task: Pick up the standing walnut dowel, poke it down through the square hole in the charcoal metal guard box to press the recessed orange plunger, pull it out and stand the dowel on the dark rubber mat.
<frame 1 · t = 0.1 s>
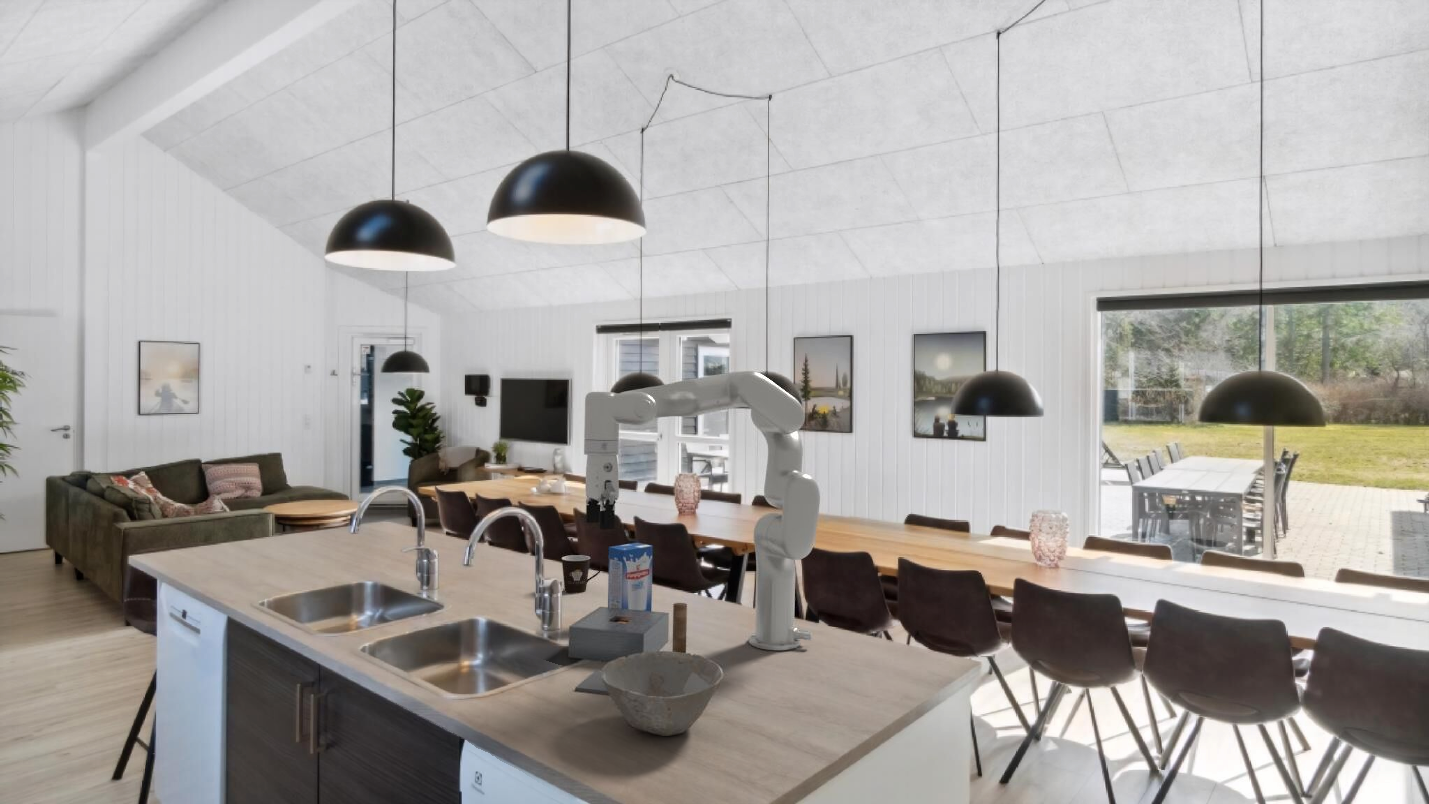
hand: (599, 525, 171), 31 cm above the counter, tool pointing down, fingers open, 9 cm apart
coffee mug: (580, 591, 238), on the counter
breaker button: (620, 634, 184), point 3 cm above the counter, slide at 0.0 cm
dowel: (678, 667, 172), on the counter
milk carton: (629, 622, 207), on the counter
ceramic bowl: (661, 727, 141), on the counter
mat: (607, 684, 161), on the counter
guard box: (620, 649, 184), on the counter
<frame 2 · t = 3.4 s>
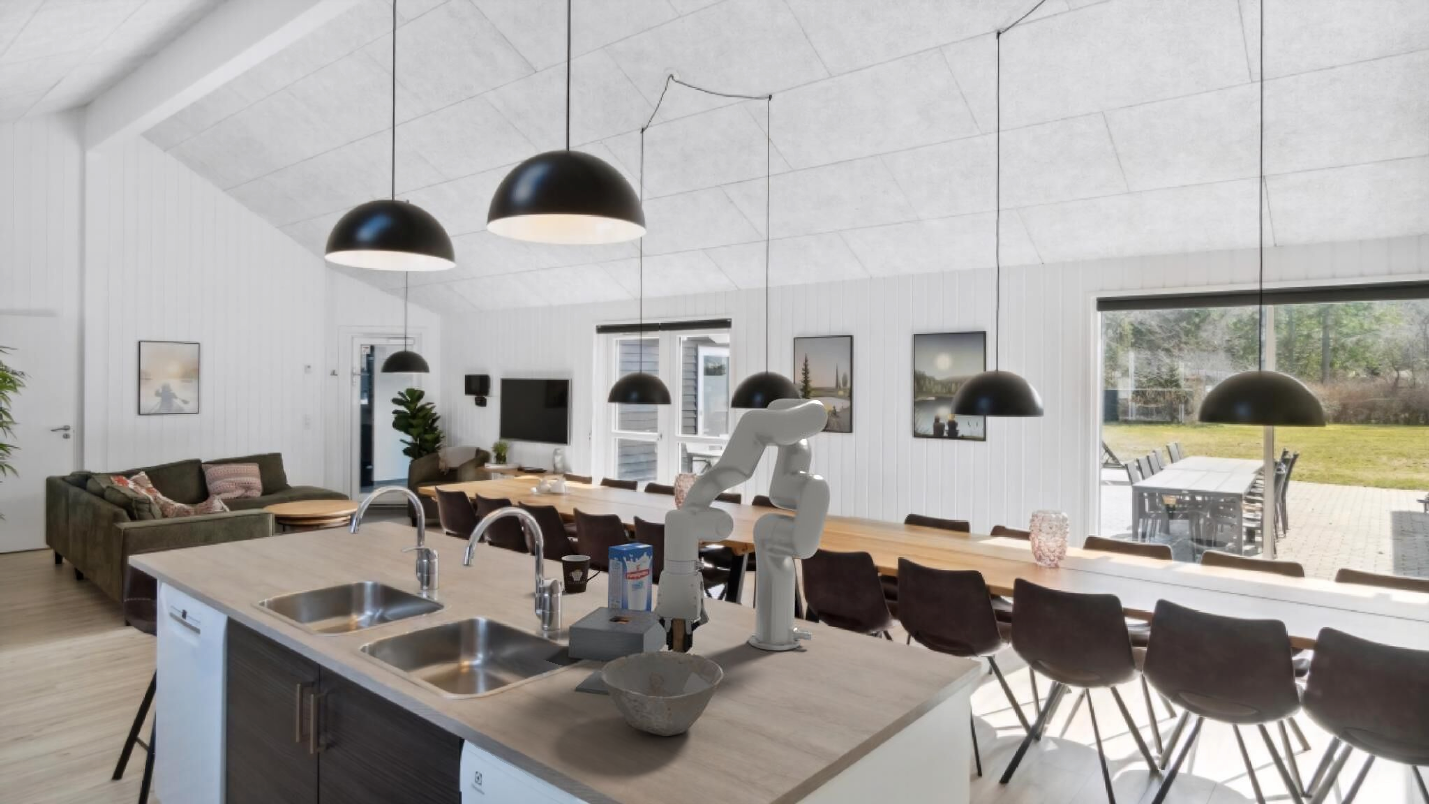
hand: (679, 648, 172), 4 cm above the counter, tool pointing down, fingers closed on dowel, 3 cm apart
dowel: (678, 668, 172), on the counter, touching gripper
everything else where it was.
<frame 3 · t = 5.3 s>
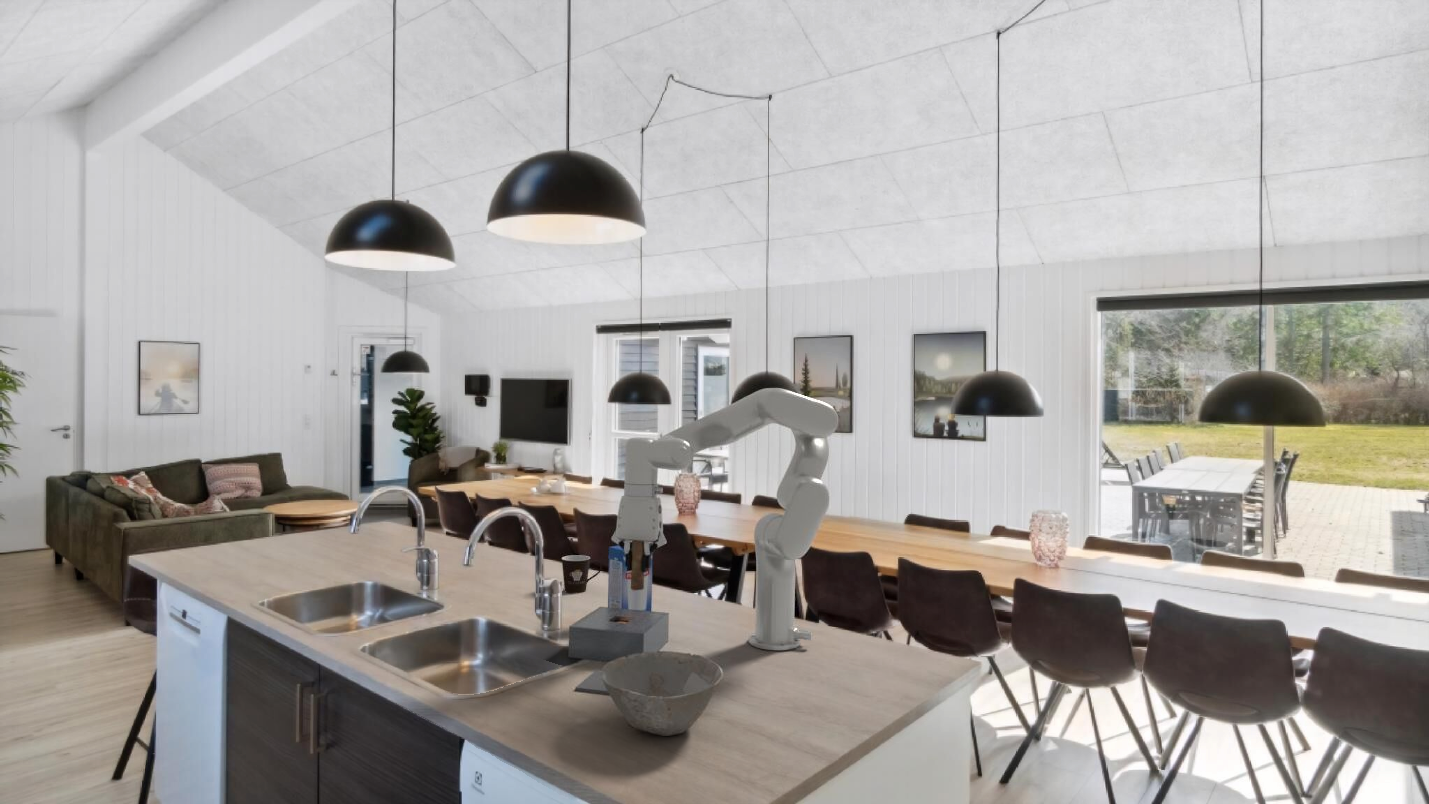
hand: (637, 570, 180), 20 cm above the counter, tool pointing down, fingers closed on dowel, 3 cm apart
dowel: (637, 588, 180), point 15 cm above the counter, touching gripper
everything else where it was.
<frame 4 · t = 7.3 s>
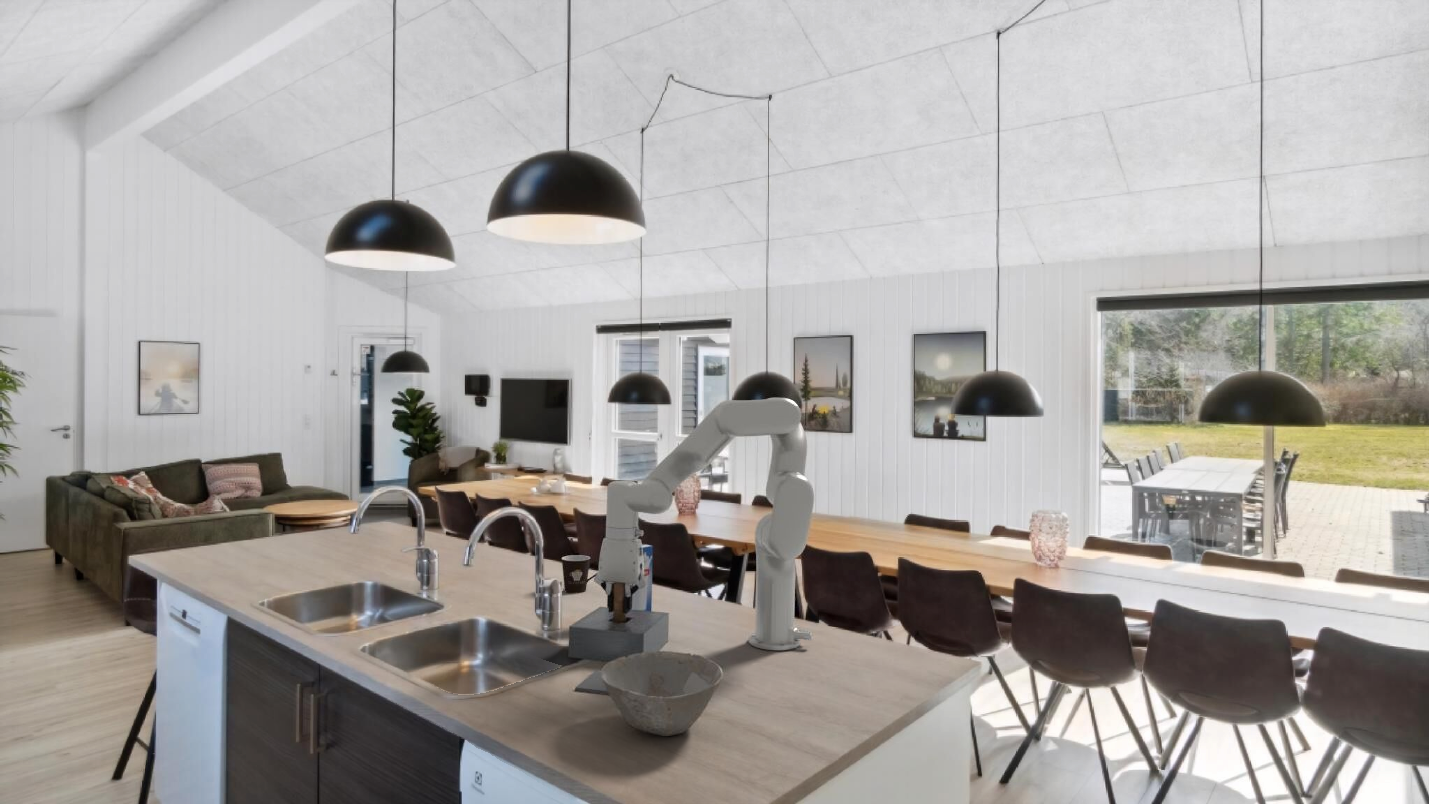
hand: (619, 610, 184), 9 cm above the counter, tool pointing down, fingers closed on dowel, 3 cm apart
breaker button: (620, 638, 184), point 2 cm above the counter, slide at 1.1 cm, touching dowel
dowel: (619, 628, 184), point 5 cm above the counter, touching breaker button, gripper
everything else where it was.
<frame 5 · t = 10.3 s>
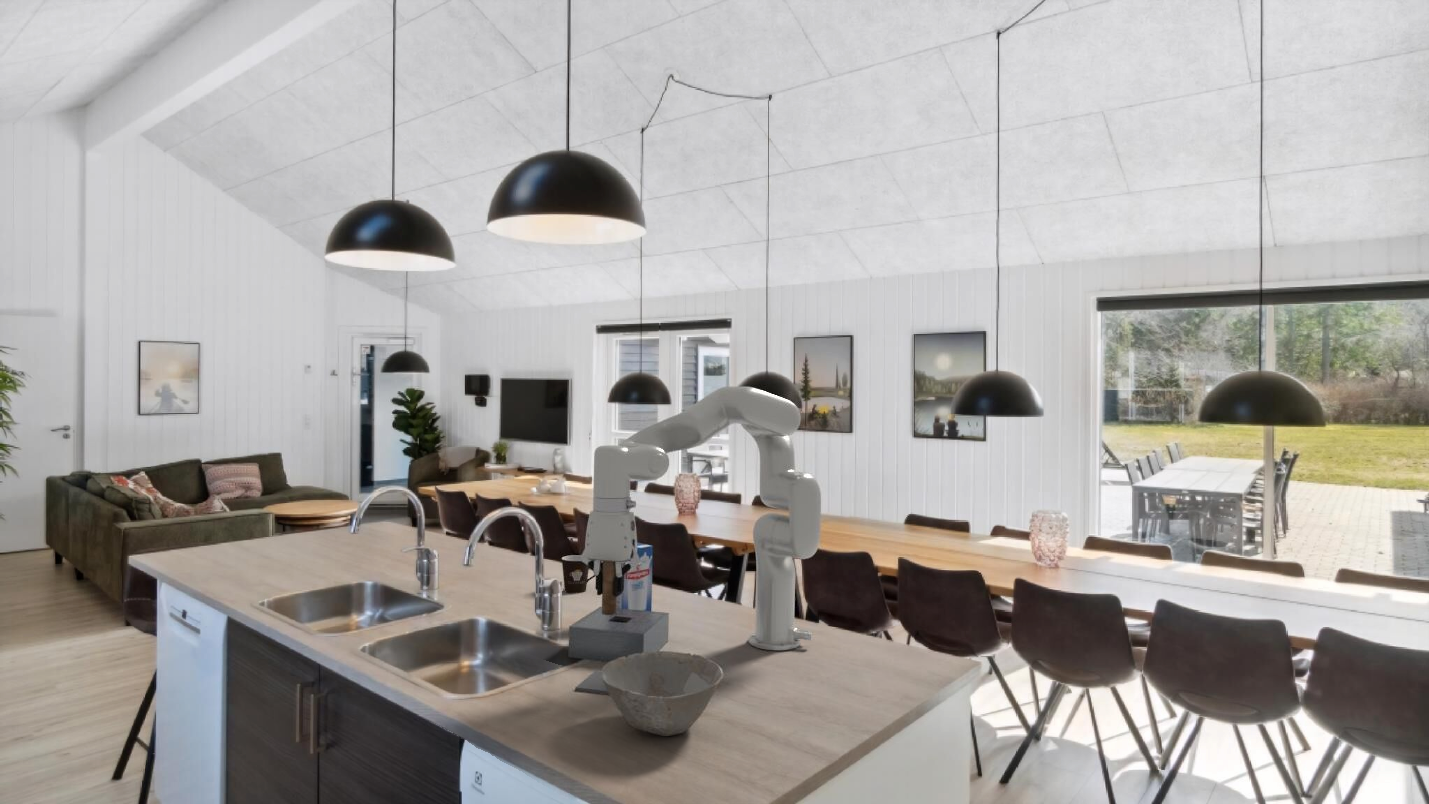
hand: (609, 593, 161), 19 cm above the counter, tool pointing down, fingers closed on dowel, 3 cm apart
breaker button: (620, 638, 184), point 2 cm above the counter, slide at 1.0 cm
dowel: (609, 613, 161), point 15 cm above the counter, touching gripper
everything else where it was.
when the fingers open (6 cm above the counter, at t = 12.8 s): dowel drops 1 cm, resting on mat.
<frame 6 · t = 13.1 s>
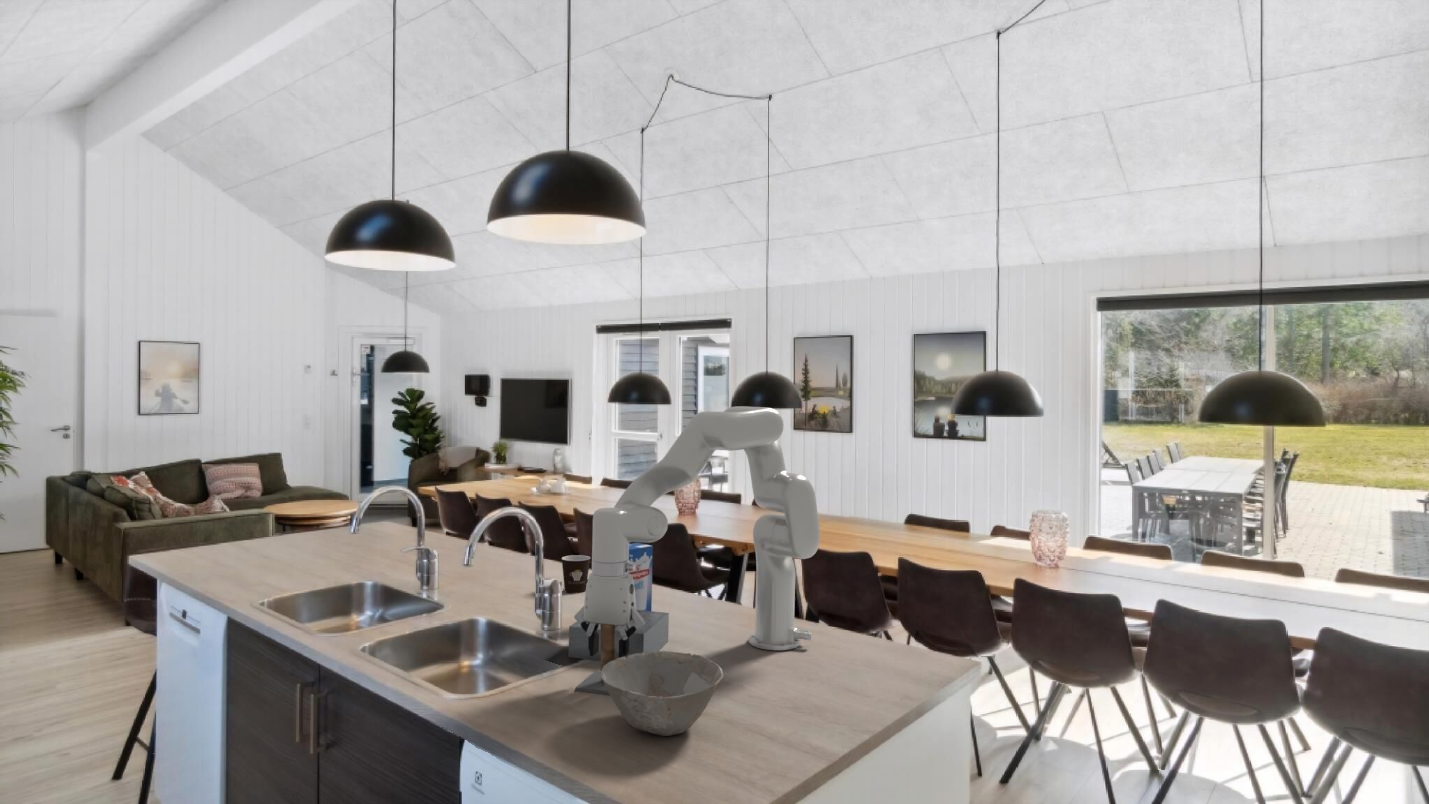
hand: (608, 654, 161), 6 cm above the counter, tool pointing down, fingers open, 5 cm apart
dowel: (608, 681, 161), point 1 cm above the counter, touching mat
everything else where it was.
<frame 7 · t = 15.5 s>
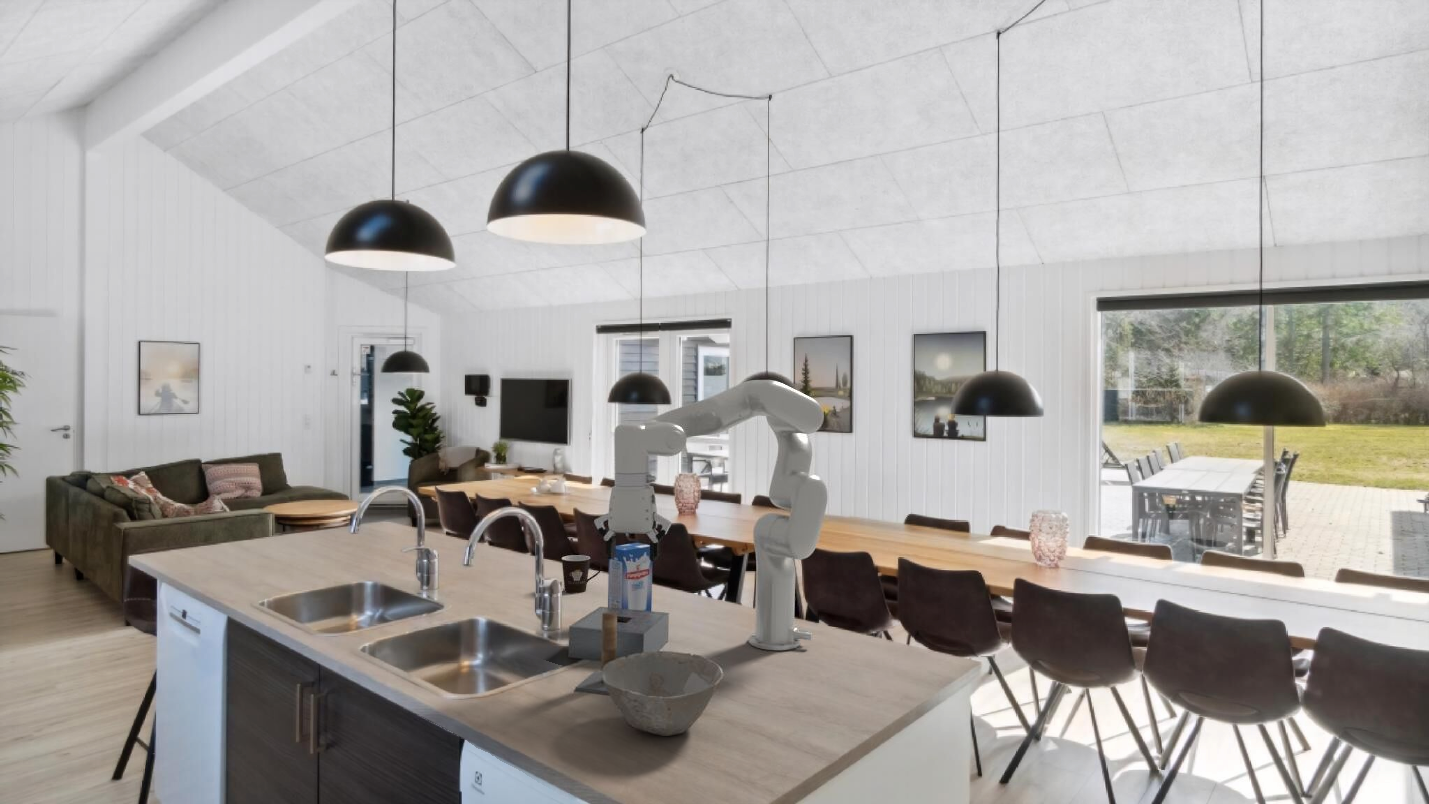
hand: (632, 558, 170), 24 cm above the counter, tool pointing down, fingers open, 9 cm apart
nothing on the counter moved.
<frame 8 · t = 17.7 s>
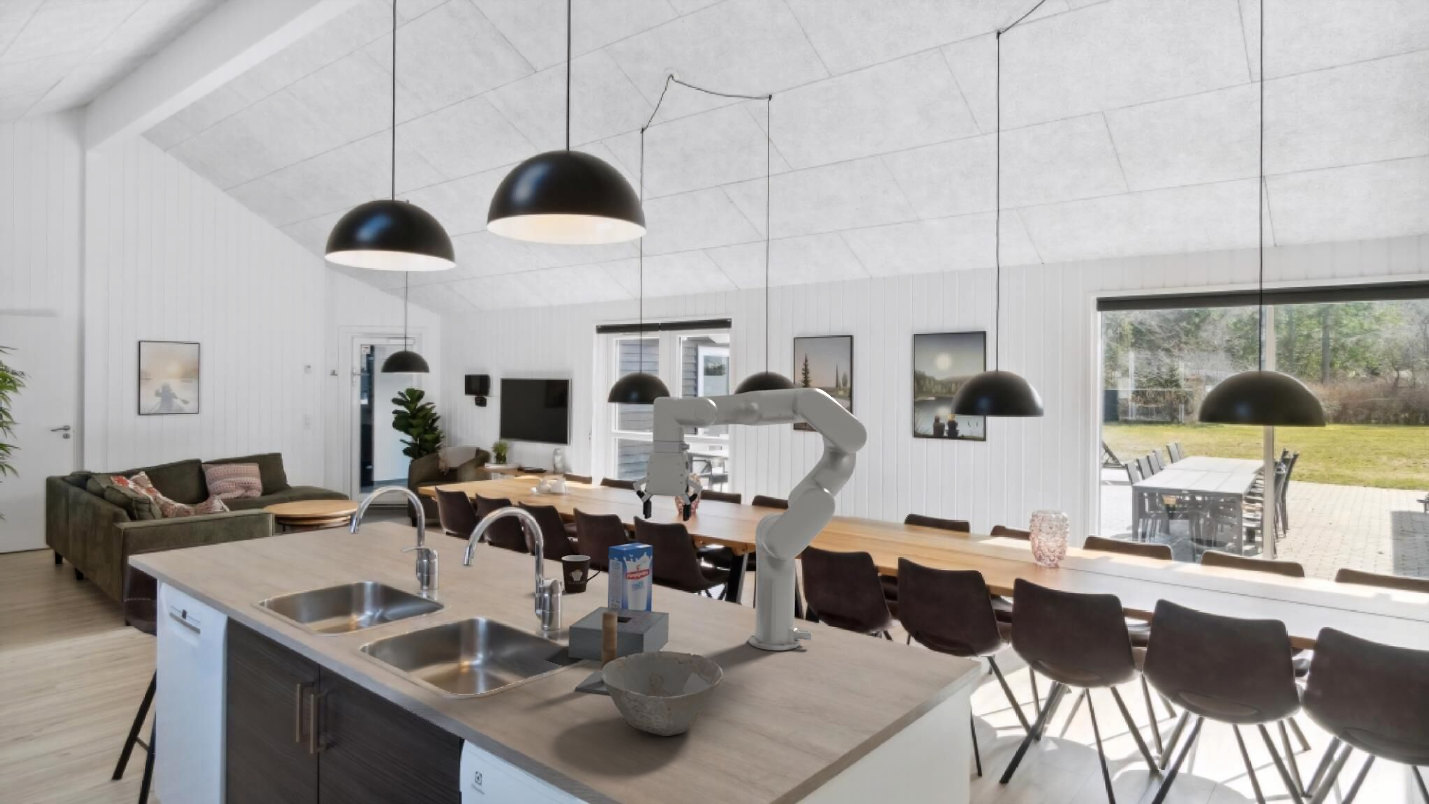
hand: (666, 519, 187), 30 cm above the counter, tool pointing down, fingers open, 9 cm apart
nothing on the counter moved.
at the end: breaker button slide at 1.0 cm; dowel inside the target area on the mat (0.1 cm from its centre), point 0.6 cm above the mat's base; dowel tilted 2° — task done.
